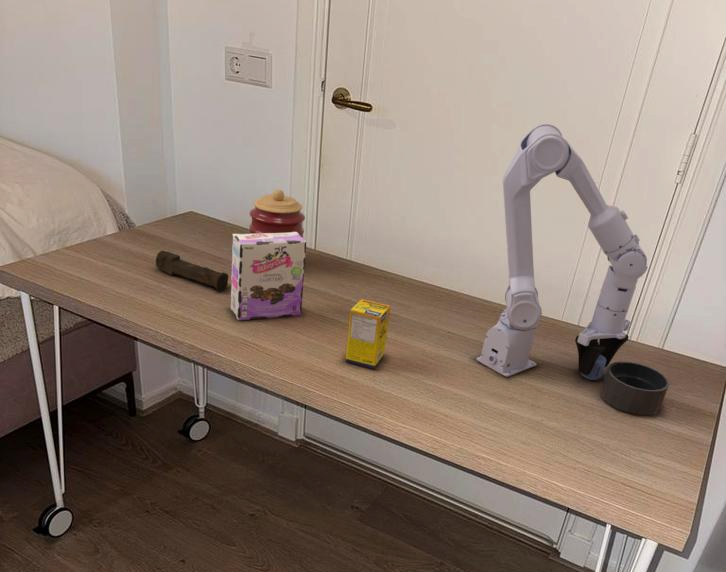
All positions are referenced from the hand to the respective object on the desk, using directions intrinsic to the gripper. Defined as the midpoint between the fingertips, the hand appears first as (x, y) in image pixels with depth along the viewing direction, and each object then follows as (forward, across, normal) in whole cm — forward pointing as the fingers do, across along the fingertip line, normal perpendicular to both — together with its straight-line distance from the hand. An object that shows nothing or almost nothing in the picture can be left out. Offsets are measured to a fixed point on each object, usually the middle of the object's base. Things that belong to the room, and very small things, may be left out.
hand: (592, 369), depth 140 cm
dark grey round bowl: (+1, -2, -10) cm, 10 cm away
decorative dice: (+2, 0, 0) cm, 2 cm away
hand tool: (+2, -47, +75) cm, 89 cm away
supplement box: (+2, -36, +27) cm, 45 cm away
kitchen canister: (+2, -23, +76) cm, 79 cm away
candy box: (+2, -41, +53) cm, 67 cm away
